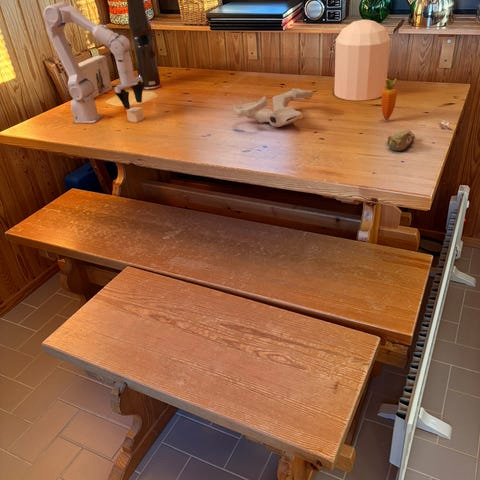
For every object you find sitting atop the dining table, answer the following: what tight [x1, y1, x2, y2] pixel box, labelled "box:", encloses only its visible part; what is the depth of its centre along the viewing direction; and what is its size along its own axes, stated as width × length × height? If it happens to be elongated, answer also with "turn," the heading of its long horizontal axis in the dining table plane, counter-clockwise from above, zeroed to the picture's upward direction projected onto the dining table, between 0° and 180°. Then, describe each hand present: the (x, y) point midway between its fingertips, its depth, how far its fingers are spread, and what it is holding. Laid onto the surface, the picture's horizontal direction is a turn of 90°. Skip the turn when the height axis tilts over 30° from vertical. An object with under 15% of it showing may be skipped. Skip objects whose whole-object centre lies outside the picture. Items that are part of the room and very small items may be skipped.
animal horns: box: [231, 88, 314, 128], centre depth 171 cm, size 28×26×12 cm
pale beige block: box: [125, 106, 145, 123], centre depth 188 cm, size 5×5×4 cm
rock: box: [387, 129, 416, 152], centre depth 146 cm, size 11×6×10 cm
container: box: [333, 19, 391, 102], centre depth 186 cm, size 21×21×28 cm
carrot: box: [380, 78, 398, 122], centre depth 161 cm, size 5×5×15 cm
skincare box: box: [77, 54, 113, 99], centre depth 218 cm, size 21×6×16 cm, turn 158°
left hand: (133, 105), depth 186 cm, fingers open, 7 cm apart
